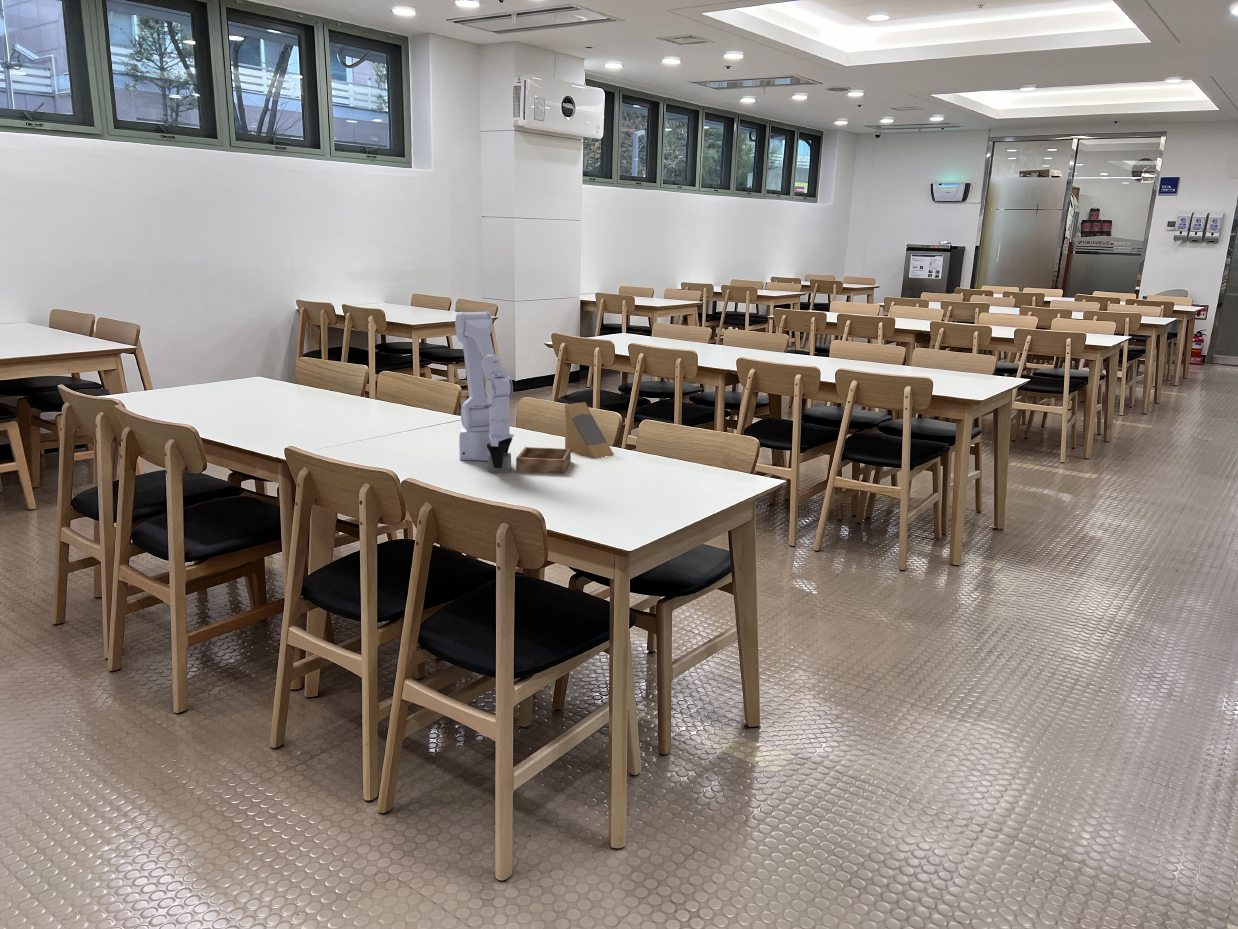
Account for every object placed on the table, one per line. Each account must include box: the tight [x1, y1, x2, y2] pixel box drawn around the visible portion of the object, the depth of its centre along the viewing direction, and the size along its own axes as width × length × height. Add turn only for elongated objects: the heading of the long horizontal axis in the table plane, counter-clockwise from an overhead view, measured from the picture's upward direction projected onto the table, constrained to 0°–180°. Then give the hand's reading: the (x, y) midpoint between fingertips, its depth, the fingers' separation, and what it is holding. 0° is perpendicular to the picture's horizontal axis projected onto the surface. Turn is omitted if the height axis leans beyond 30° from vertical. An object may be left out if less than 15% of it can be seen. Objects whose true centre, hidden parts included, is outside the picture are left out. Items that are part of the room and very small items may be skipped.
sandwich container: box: [564, 401, 615, 460], centre depth 275 cm, size 9×15×15 cm, turn 42°
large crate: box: [515, 446, 572, 475], centre depth 258 cm, size 14×14×4 cm
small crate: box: [487, 452, 512, 474], centre depth 253 cm, size 6×6×4 cm
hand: (499, 465), depth 253 cm, fingers closed on small crate, 5 cm apart
